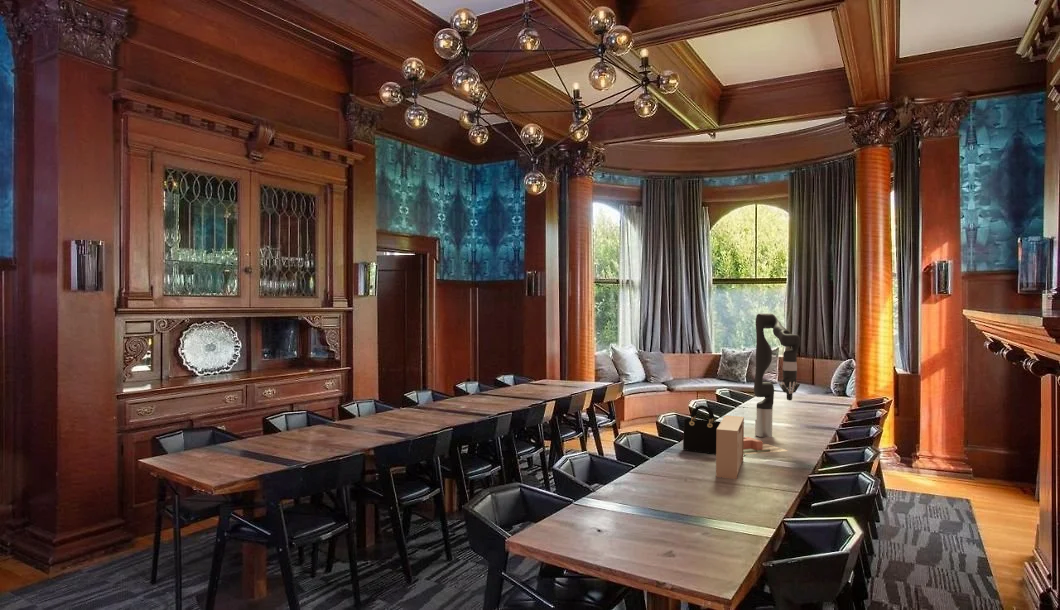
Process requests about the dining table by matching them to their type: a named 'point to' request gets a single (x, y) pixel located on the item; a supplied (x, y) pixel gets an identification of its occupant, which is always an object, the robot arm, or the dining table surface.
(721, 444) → the box
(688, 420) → the handbag
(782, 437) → the dining table surface
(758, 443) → the t block
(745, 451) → the board
